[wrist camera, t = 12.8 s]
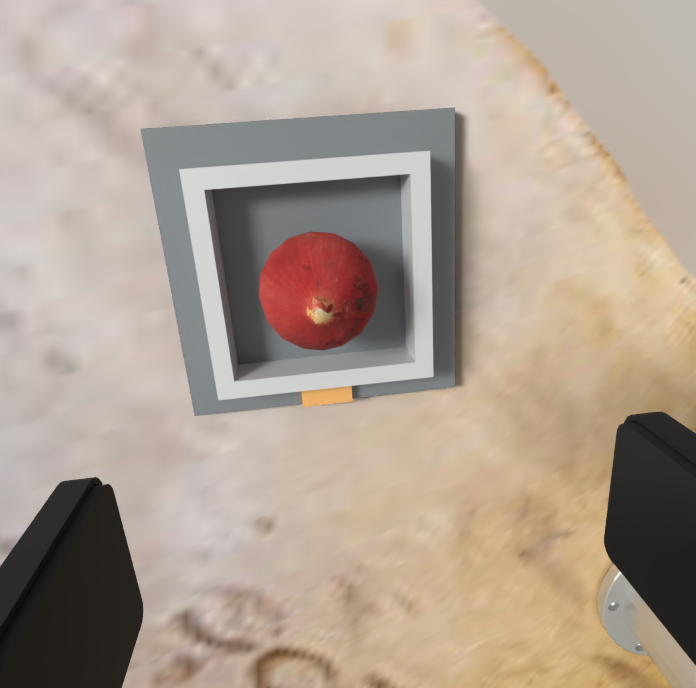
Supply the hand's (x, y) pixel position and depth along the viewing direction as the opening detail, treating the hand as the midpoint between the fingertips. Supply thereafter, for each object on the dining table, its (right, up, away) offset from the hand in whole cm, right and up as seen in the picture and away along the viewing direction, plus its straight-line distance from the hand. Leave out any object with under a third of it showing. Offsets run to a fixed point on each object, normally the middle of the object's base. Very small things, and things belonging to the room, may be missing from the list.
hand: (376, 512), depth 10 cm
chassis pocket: (-2, +7, +21) cm, 22 cm away
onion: (-2, +7, +20) cm, 21 cm away
